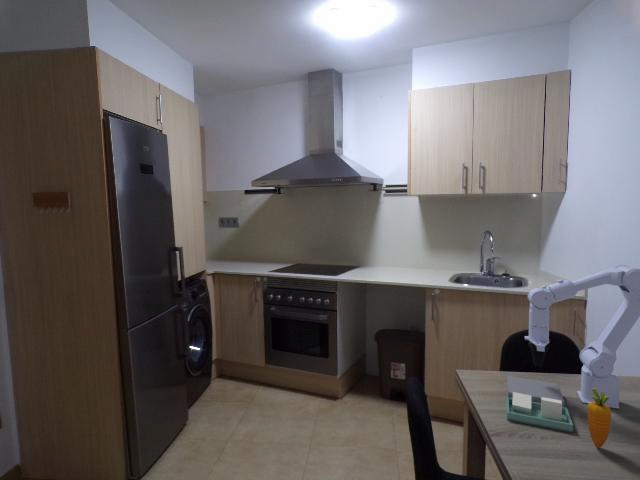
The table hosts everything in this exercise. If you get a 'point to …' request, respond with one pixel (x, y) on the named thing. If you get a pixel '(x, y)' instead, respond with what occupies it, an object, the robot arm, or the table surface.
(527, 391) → the board
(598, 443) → the carrot
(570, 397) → the table surface
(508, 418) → the box
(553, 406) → the tile
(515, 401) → the tile
